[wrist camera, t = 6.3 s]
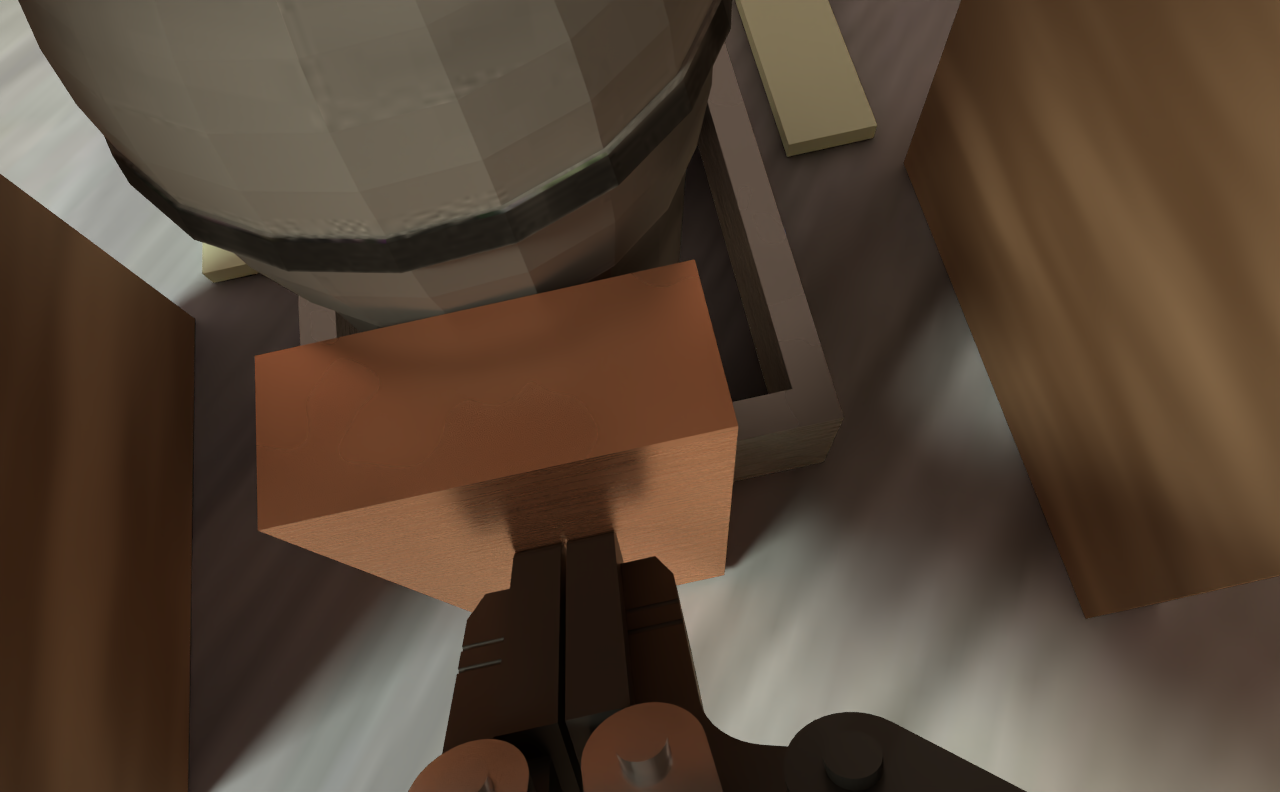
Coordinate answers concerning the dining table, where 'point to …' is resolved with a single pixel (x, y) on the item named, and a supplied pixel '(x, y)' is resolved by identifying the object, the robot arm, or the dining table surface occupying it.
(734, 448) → the shallow grey tray
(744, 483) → the dining table surface
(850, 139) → the pair of cream slabs
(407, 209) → the beverage cup
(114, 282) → the tunnel
